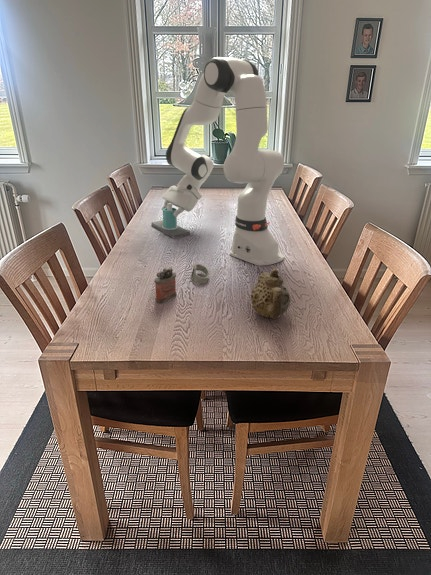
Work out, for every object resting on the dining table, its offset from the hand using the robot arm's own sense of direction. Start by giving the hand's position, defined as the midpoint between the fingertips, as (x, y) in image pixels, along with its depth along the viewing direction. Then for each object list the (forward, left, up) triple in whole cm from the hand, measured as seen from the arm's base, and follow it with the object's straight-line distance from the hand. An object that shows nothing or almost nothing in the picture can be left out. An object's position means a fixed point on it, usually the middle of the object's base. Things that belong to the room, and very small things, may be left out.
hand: (168, 213), depth 182 cm
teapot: (-80, +13, -8) cm, 82 cm away
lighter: (-54, +33, -8) cm, 64 cm away
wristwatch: (-48, +16, -8) cm, 52 cm away
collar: (0, -1, -6) cm, 6 cm away
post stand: (0, -1, -8) cm, 8 cm away
